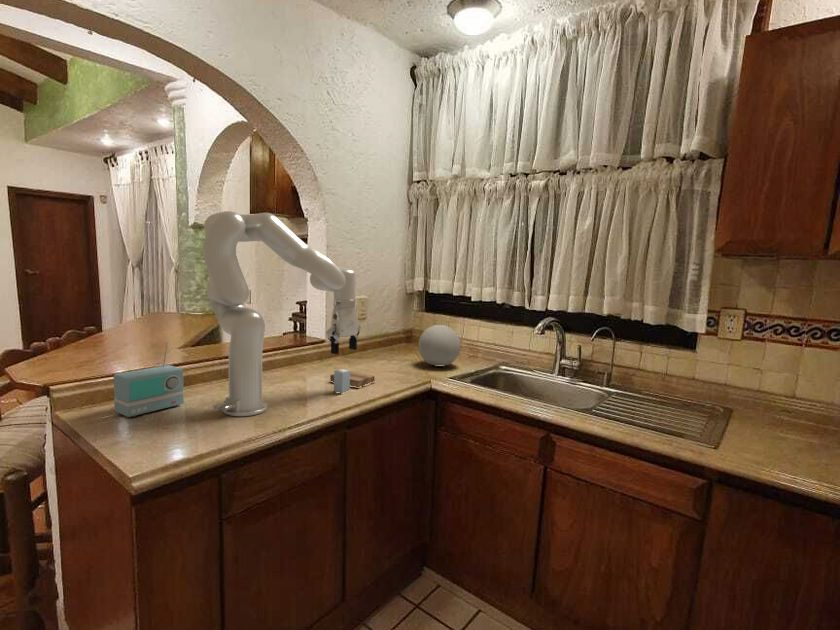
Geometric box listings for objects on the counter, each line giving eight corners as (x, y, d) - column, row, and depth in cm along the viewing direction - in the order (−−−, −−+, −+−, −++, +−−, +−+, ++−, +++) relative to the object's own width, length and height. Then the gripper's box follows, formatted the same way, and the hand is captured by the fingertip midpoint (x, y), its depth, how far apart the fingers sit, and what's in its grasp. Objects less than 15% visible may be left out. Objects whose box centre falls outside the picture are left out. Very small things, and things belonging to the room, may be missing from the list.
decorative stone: (410, 363, 207) (412, 322, 205) (445, 360, 217) (447, 321, 215) (430, 372, 190) (432, 328, 188) (467, 369, 199) (469, 327, 197)
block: (342, 394, 152) (342, 372, 151) (333, 392, 154) (334, 370, 153) (349, 392, 155) (350, 370, 154) (341, 390, 157) (341, 368, 156)
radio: (129, 421, 118) (127, 350, 116) (114, 414, 123) (112, 346, 121) (186, 406, 132) (185, 343, 130) (170, 401, 137) (169, 339, 134)
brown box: (358, 388, 160) (358, 381, 159) (330, 382, 167) (330, 374, 166) (374, 383, 168) (374, 376, 168) (347, 377, 175) (347, 370, 175)
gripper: (335, 307, 142) (335, 357, 144) (367, 303, 157) (367, 349, 159) (319, 305, 146) (319, 354, 148) (352, 302, 160) (351, 346, 163)
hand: (344, 351), depth 153 cm, fingers open, 9 cm apart
